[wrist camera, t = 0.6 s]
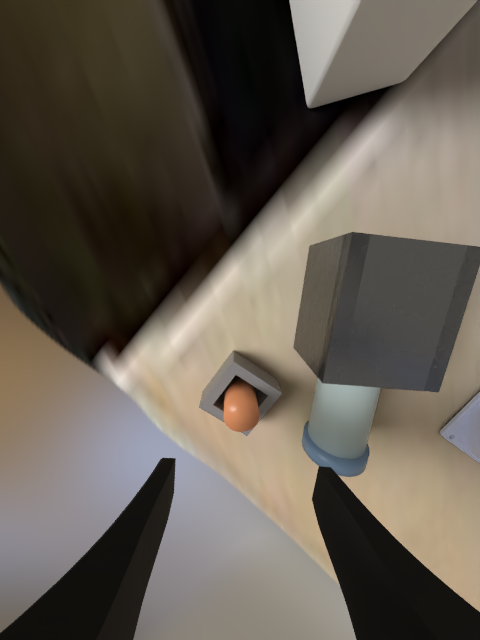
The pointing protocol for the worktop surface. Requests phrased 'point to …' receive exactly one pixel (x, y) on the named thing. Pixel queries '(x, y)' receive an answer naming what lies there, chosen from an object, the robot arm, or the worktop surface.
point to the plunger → (240, 406)
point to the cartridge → (340, 427)
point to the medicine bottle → (366, 42)
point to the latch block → (247, 371)
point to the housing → (383, 309)
